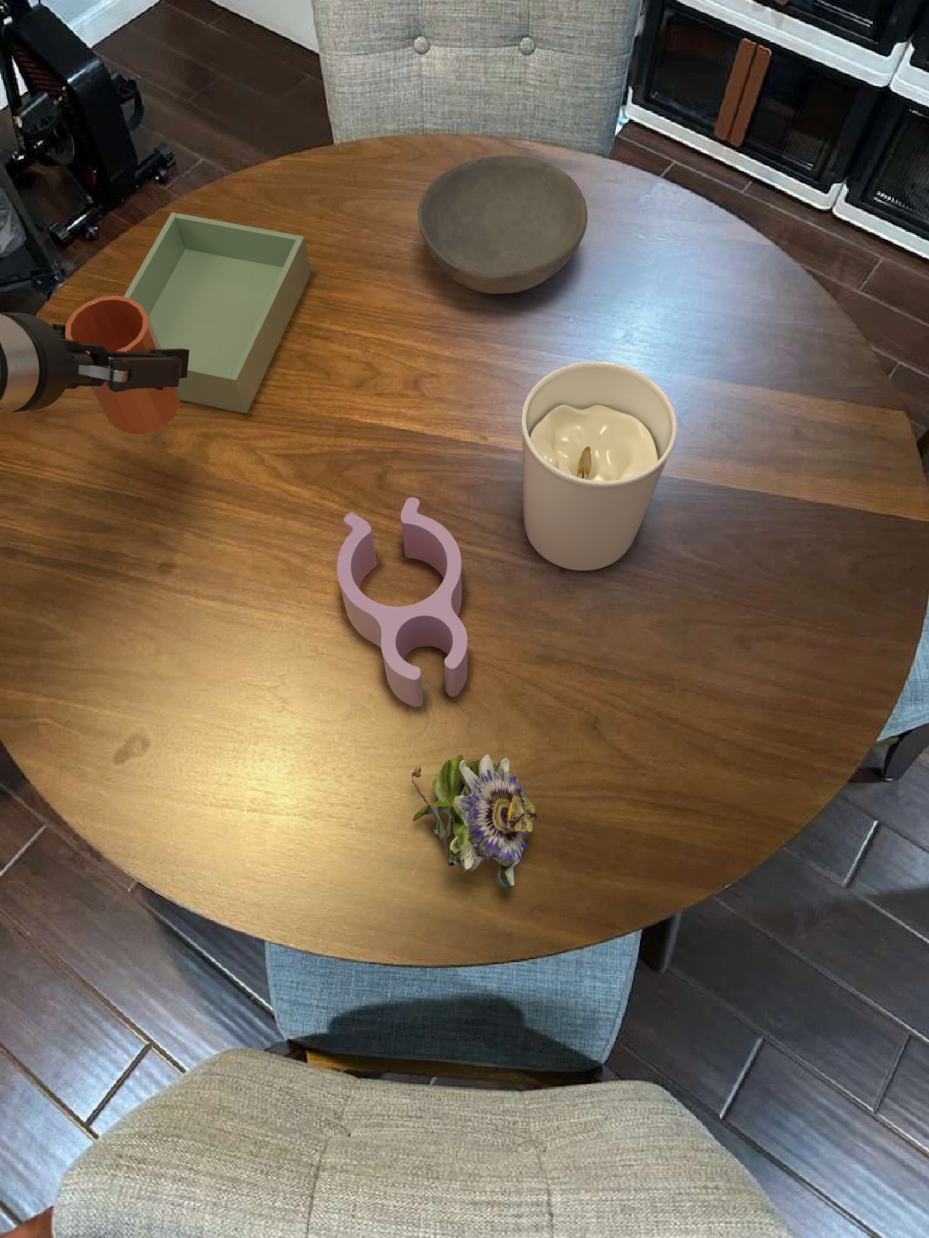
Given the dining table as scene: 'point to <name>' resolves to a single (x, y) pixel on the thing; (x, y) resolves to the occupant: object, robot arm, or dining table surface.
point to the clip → (415, 622)
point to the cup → (129, 331)
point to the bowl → (502, 222)
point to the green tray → (221, 302)
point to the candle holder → (592, 460)
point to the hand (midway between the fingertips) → (146, 355)
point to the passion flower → (481, 814)
